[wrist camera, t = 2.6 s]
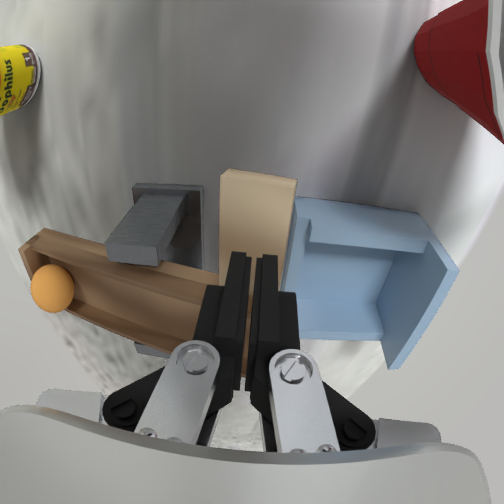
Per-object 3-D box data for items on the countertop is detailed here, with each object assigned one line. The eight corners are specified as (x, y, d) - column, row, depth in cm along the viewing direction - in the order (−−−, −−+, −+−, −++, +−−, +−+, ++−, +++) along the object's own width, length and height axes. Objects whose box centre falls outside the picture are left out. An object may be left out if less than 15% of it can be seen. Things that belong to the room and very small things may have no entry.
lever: (27, 154, 15) (-5, 171, 13) (297, 179, 12) (285, 210, 10) (66, 291, 23) (46, 313, 20) (267, 359, 19) (255, 395, 17)
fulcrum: (136, 183, 20) (88, 236, 14) (202, 186, 20) (173, 244, 14) (152, 290, 26) (126, 352, 20) (205, 296, 26) (189, 363, 20)
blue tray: (291, 196, 20) (298, 256, 15) (418, 213, 20) (459, 270, 14) (274, 301, 26) (274, 368, 20) (380, 307, 26) (398, 369, 20)
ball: (48, 249, 19) (16, 276, 16) (75, 262, 18) (40, 293, 15) (61, 284, 21) (33, 311, 18) (88, 299, 20) (59, 329, 17)
